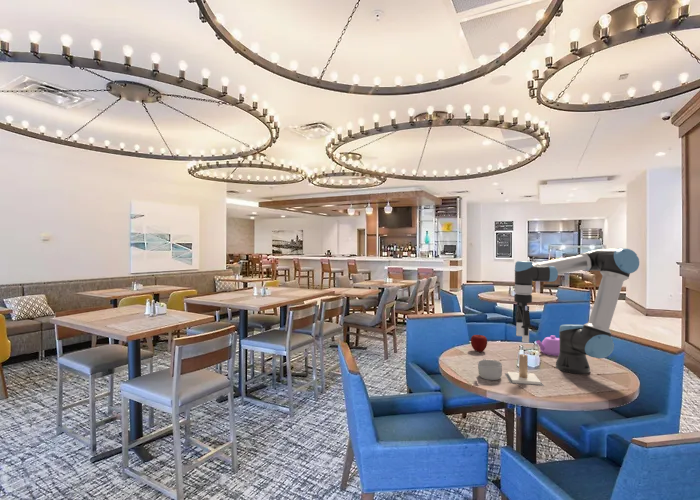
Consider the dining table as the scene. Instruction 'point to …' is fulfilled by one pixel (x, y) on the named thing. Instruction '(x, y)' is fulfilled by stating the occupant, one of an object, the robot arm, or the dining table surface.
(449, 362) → the dining table surface
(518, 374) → the lid
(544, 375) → the dining table surface
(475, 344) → the apple
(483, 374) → the teacup
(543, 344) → the teapot
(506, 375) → the mat
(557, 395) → the dining table surface
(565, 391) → the dining table surface
